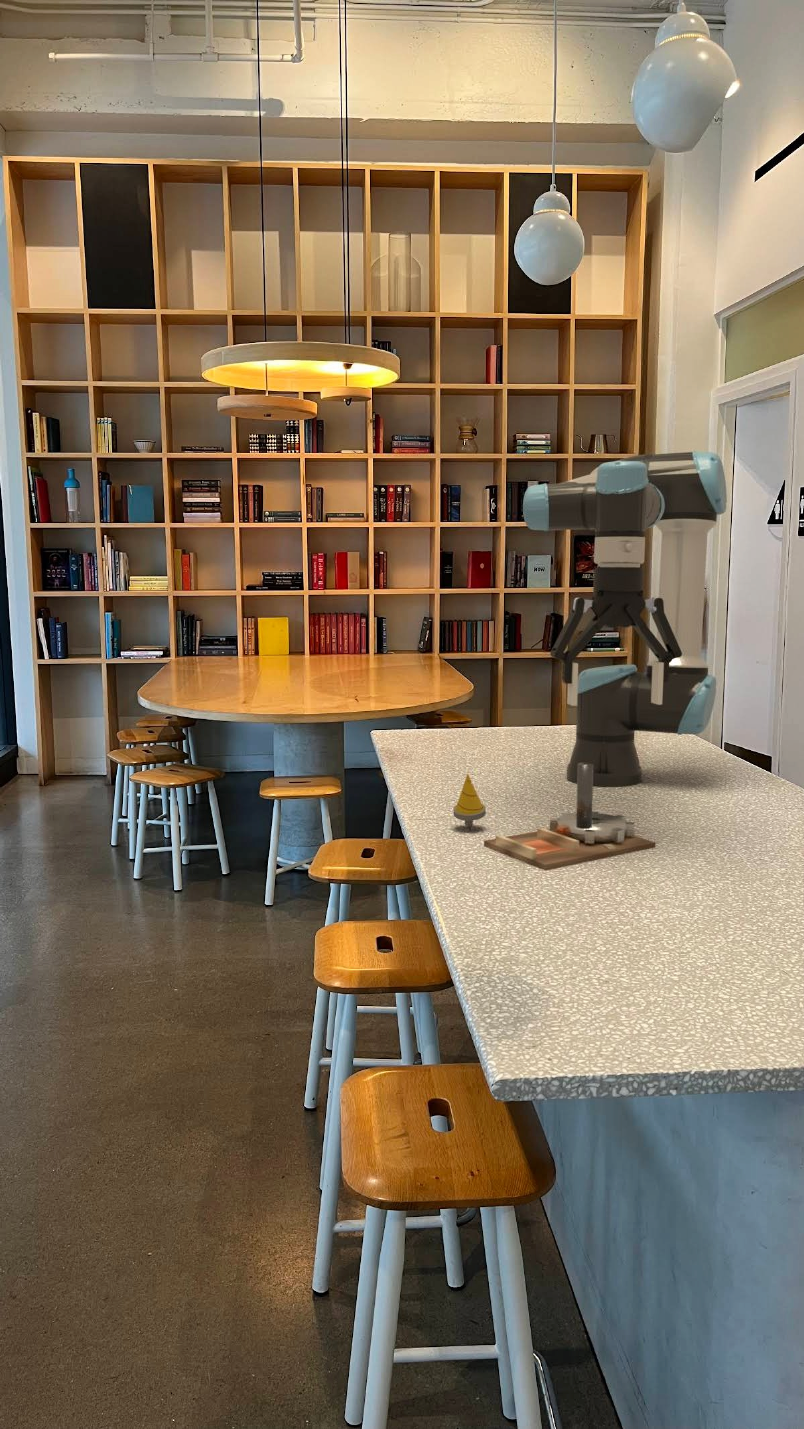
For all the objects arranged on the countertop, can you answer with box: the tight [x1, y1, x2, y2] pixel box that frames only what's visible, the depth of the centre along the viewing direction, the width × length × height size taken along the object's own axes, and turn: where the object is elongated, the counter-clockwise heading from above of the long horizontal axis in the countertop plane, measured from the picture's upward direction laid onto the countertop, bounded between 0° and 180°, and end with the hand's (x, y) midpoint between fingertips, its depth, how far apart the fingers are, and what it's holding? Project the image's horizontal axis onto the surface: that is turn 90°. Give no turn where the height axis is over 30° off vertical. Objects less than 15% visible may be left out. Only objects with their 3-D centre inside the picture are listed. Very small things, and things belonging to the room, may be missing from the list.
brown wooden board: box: [483, 827, 656, 871], centre depth 159 cm, size 15×22×2 cm
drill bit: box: [453, 774, 487, 829], centre depth 169 cm, size 5×5×10 cm
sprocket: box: [549, 763, 635, 843], centre depth 162 cm, size 13×13×12 cm
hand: (614, 704), depth 158 cm, fingers open, 13 cm apart
